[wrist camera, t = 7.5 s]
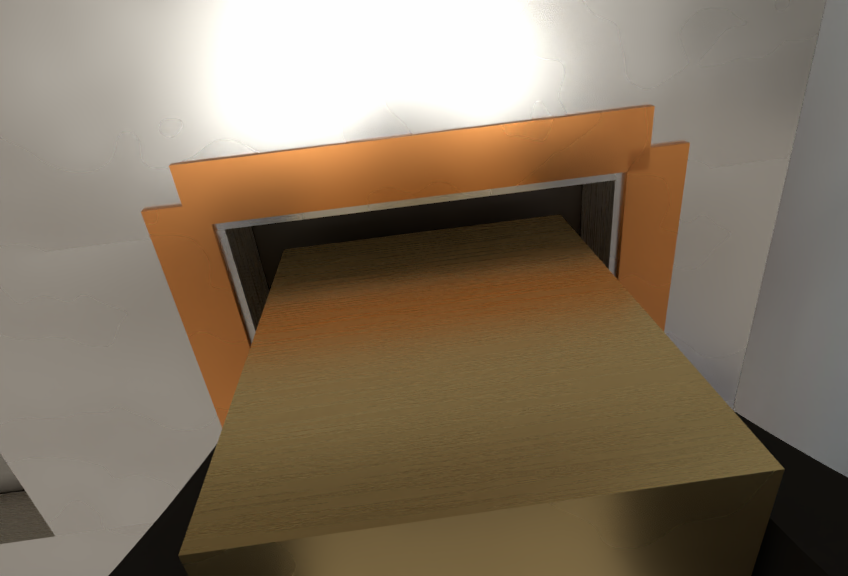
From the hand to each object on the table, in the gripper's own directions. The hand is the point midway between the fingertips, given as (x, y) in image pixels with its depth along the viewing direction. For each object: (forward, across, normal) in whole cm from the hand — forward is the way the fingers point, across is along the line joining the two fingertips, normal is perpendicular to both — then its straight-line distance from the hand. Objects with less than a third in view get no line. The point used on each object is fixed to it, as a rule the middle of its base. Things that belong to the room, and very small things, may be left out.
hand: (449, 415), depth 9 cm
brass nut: (+2, 0, 0) cm, 2 cm away
